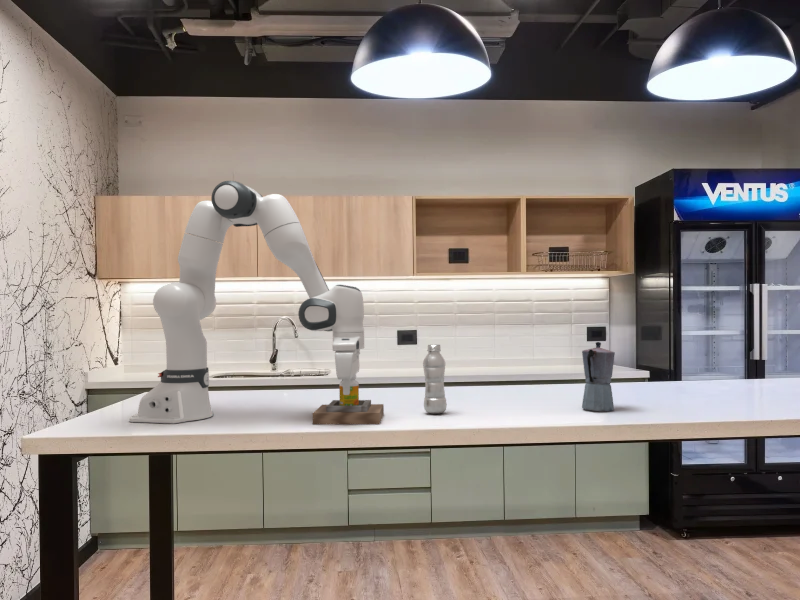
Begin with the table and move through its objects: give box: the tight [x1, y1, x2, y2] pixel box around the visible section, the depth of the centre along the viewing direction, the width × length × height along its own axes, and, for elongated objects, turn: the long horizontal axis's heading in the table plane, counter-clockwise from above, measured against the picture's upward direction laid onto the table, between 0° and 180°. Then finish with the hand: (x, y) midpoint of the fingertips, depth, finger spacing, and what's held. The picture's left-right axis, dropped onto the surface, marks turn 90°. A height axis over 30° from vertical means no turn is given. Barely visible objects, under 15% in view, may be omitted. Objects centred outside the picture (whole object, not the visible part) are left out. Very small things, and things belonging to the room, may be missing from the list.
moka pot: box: [581, 341, 616, 412], centre depth 167 cm, size 10×15×20 cm, turn 147°
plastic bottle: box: [422, 344, 448, 415], centre depth 165 cm, size 6×7×20 cm
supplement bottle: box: [338, 373, 360, 406], centre depth 159 cm, size 5×5×10 cm
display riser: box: [312, 399, 385, 425], centre depth 158 cm, size 18×14×4 cm
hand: (349, 392), depth 158 cm, fingers open, 8 cm apart
